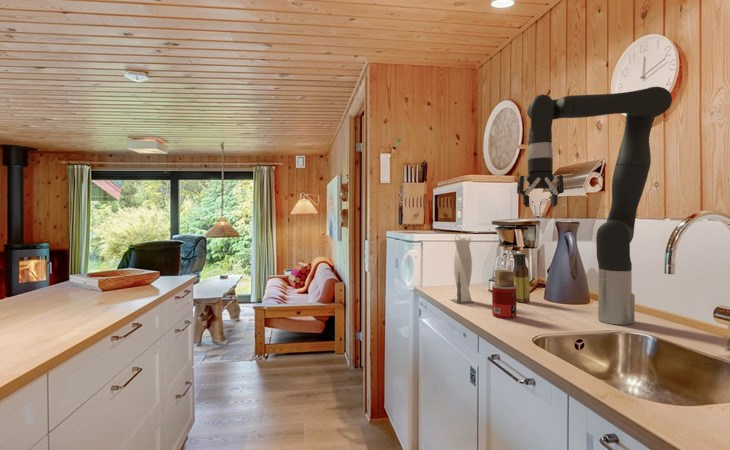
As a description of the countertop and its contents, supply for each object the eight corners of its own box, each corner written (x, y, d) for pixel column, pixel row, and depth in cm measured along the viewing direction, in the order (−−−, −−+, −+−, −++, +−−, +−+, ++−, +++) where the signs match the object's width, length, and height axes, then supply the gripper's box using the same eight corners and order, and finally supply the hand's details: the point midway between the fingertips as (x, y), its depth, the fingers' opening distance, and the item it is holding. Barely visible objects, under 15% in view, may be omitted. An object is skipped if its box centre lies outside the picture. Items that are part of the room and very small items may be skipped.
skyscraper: (448, 299, 163) (448, 233, 162) (466, 298, 165) (465, 233, 164) (458, 303, 155) (458, 234, 154) (476, 302, 157) (476, 234, 156)
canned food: (517, 319, 130) (516, 287, 130) (492, 318, 133) (492, 286, 133) (515, 314, 138) (515, 283, 137) (492, 312, 140) (492, 282, 140)
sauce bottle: (527, 299, 161) (527, 252, 161) (532, 303, 155) (532, 253, 154) (510, 299, 162) (510, 252, 161) (515, 303, 156) (515, 253, 155)
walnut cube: (509, 283, 137) (509, 269, 137) (513, 286, 132) (514, 271, 132) (495, 283, 138) (495, 269, 138) (499, 286, 133) (499, 271, 133)
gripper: (557, 159, 131) (557, 207, 131) (514, 160, 132) (514, 207, 132) (567, 155, 123) (567, 206, 124) (522, 156, 124) (522, 206, 125)
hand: (540, 206), depth 128 cm, fingers open, 8 cm apart
